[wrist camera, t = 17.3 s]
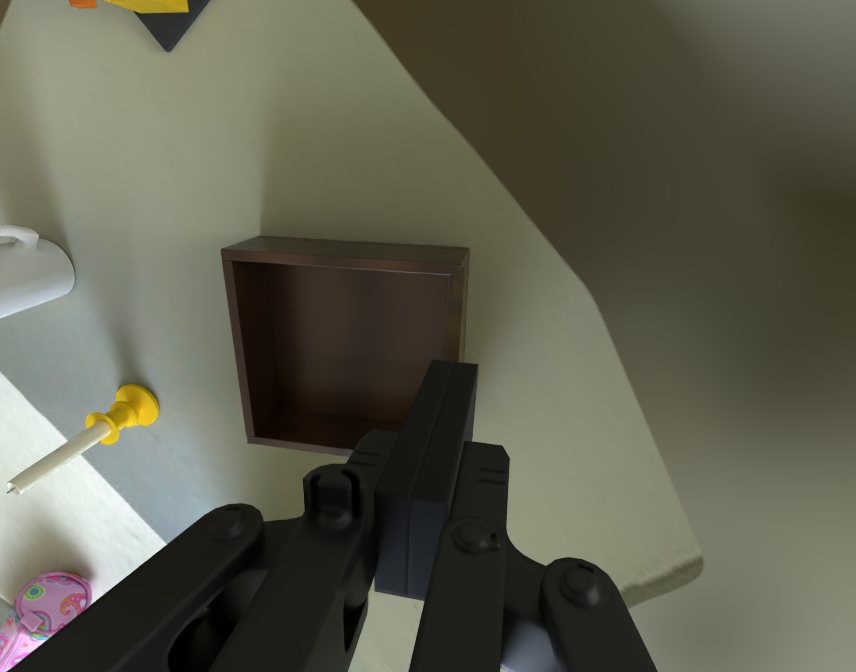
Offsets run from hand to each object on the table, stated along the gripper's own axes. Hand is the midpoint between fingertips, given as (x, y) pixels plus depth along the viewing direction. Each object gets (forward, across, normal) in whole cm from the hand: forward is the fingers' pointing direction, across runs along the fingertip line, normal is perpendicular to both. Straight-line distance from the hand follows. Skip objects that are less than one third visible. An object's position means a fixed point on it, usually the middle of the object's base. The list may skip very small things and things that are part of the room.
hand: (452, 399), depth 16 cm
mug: (+28, -46, -4) cm, 54 cm away
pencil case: (+29, -60, -59) cm, 89 cm away
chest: (+28, -12, -10) cm, 32 cm away
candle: (+29, -39, -21) cm, 53 cm away
